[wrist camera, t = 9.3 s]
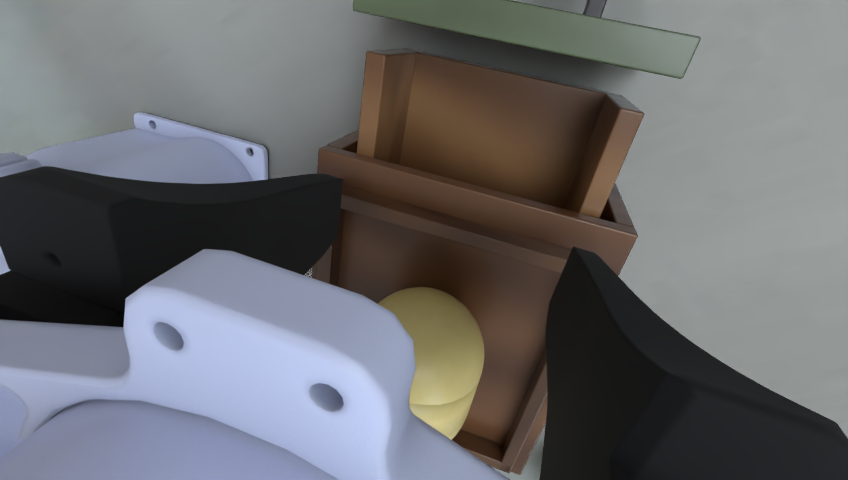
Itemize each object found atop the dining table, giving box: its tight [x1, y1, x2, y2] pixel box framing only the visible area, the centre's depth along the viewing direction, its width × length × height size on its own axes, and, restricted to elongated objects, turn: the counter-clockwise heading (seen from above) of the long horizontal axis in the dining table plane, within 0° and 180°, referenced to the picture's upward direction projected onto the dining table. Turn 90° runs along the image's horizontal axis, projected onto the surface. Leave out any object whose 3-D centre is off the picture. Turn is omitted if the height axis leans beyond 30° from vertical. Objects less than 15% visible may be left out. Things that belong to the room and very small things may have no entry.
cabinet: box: [312, 130, 638, 475], centre depth 22 cm, size 14×12×7 cm
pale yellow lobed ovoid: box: [378, 287, 485, 440], centre depth 17 cm, size 5×7×5 cm
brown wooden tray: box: [317, 185, 571, 473], centre depth 18 cm, size 11×12×1 cm
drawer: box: [353, 0, 701, 218], centre depth 17 cm, size 18×11×5 cm, turn 169°
